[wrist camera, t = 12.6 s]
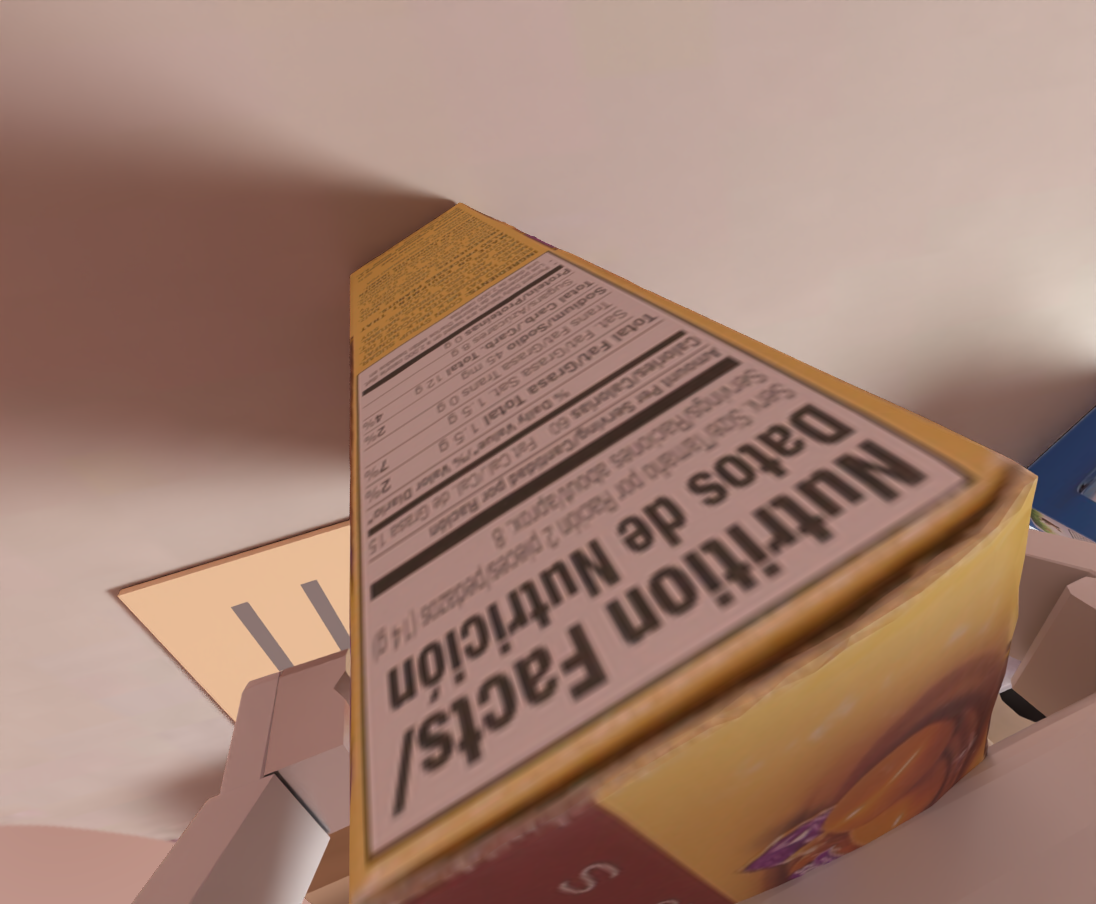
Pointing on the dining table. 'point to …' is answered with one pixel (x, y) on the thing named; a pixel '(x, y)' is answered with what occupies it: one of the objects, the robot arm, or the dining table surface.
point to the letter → (252, 611)
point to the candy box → (643, 590)
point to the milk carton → (1068, 484)
